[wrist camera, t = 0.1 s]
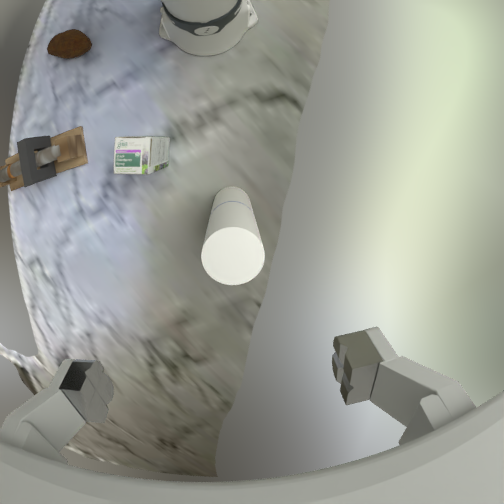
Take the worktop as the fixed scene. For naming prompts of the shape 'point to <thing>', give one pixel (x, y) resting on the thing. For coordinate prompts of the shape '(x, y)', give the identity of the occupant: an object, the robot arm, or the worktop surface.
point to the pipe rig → (49, 157)
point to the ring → (29, 162)
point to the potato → (69, 44)
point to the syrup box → (140, 154)
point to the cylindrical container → (232, 239)
